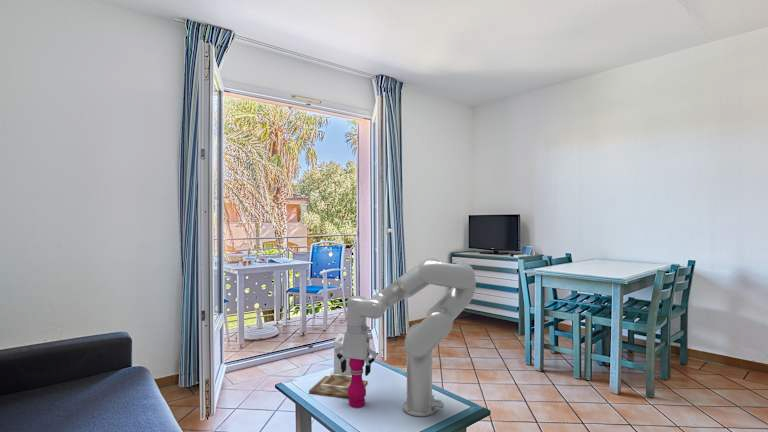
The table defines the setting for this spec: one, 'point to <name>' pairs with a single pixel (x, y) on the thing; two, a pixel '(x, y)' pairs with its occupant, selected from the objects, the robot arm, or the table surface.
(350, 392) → the pepper mill
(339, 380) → the stand
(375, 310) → the robot arm
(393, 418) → the table surface
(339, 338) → the milk carton
